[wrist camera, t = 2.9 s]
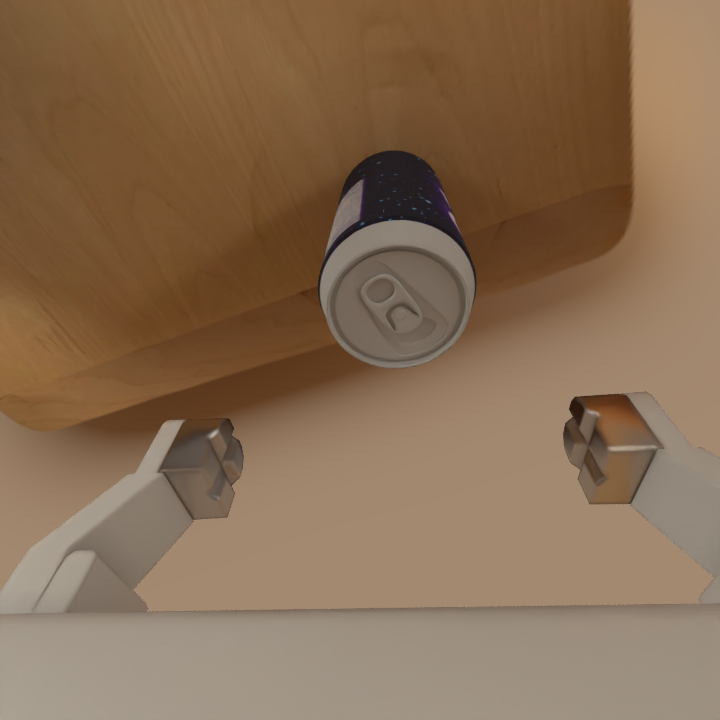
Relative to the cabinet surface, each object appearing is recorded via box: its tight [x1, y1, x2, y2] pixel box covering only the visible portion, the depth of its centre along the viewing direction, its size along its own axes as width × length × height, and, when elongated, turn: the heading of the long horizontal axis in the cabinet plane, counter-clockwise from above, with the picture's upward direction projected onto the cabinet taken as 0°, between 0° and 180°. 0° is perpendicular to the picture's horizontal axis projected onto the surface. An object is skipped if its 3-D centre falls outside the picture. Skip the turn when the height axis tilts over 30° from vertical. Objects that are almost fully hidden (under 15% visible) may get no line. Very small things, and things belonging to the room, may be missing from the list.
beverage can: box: [318, 151, 476, 369], centre depth 19 cm, size 6×6×12 cm
